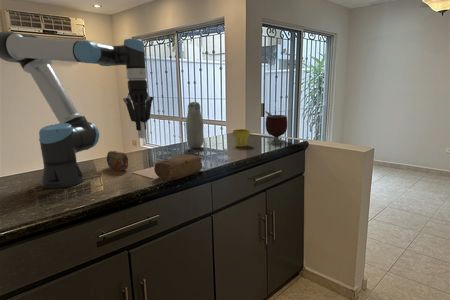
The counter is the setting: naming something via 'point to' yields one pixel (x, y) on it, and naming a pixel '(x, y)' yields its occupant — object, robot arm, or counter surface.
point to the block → (178, 167)
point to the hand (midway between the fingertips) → (142, 137)
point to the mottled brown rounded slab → (117, 160)
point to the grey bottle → (194, 126)
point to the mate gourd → (276, 127)
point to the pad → (147, 173)
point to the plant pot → (241, 137)
